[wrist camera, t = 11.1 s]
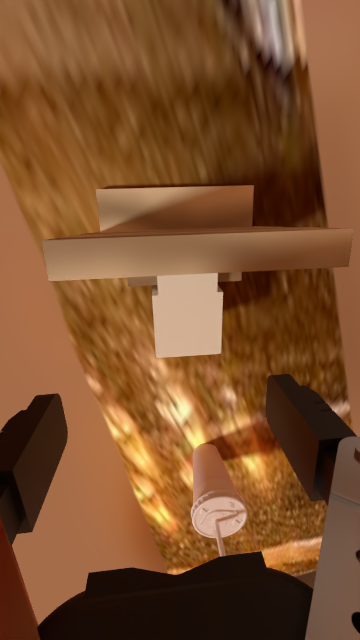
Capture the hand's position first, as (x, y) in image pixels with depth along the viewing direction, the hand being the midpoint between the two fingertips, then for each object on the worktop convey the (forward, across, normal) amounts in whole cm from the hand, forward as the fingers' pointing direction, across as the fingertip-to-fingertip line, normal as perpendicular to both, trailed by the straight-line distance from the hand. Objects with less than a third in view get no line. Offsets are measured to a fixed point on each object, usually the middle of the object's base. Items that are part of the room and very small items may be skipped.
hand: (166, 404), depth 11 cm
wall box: (+21, -2, +2) cm, 21 cm away
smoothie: (+23, -5, +26) cm, 35 cm away
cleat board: (+24, -2, -5) cm, 24 cm away
